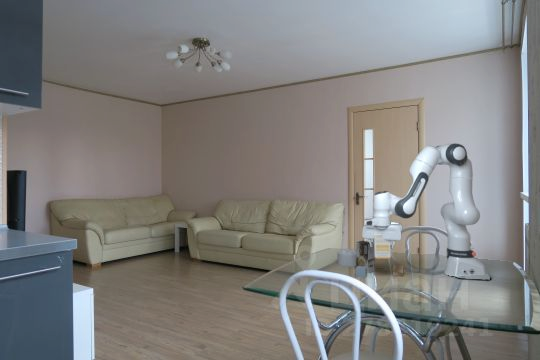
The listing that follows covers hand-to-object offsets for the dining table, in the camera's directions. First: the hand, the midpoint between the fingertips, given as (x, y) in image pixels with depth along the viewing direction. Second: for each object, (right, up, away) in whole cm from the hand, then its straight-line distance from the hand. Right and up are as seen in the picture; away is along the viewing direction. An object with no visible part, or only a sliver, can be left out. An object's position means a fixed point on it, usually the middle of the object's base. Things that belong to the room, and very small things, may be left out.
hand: (381, 247), depth 200 cm
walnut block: (+11, -16, +5) cm, 20 cm away
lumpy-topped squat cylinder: (-12, -15, +29) cm, 35 cm away
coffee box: (-5, -16, +15) cm, 23 cm away
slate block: (-10, -16, +3) cm, 19 cm away
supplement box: (0, -6, +1) cm, 6 cm away
